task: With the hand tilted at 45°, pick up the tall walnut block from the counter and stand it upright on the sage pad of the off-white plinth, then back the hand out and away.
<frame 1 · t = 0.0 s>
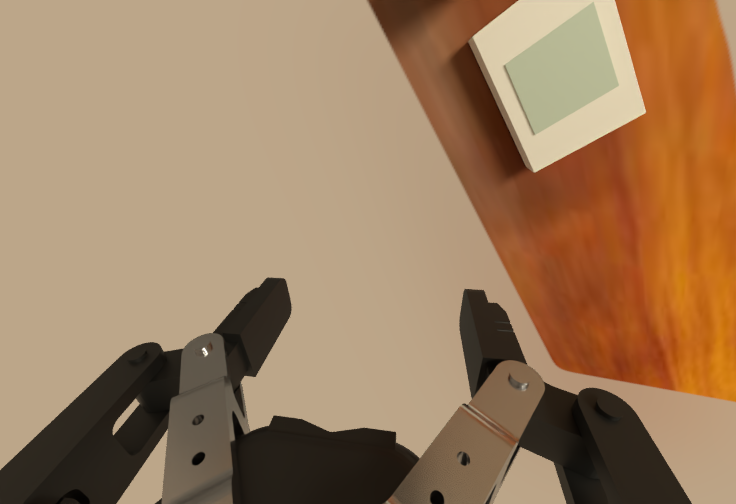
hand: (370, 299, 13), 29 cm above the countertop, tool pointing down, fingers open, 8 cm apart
plinth: (548, 76, 31), on the countertop
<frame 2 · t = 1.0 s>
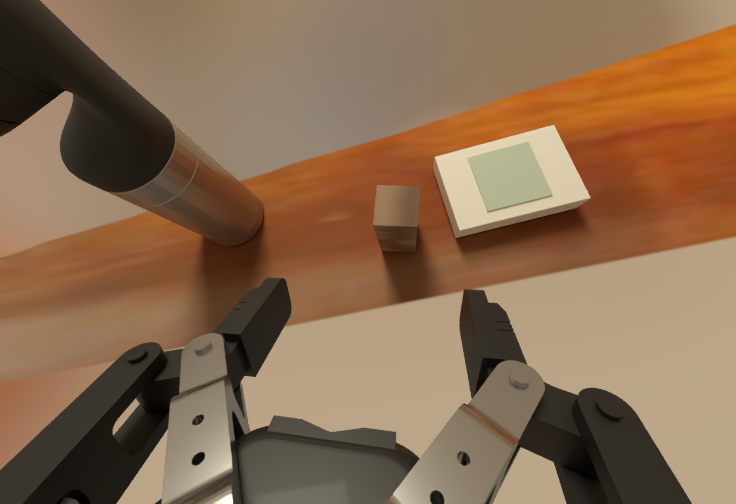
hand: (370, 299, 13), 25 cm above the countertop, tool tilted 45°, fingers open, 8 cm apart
plinth: (500, 187, 39), on the countertop
walnut block: (399, 235, 39), on the countertop
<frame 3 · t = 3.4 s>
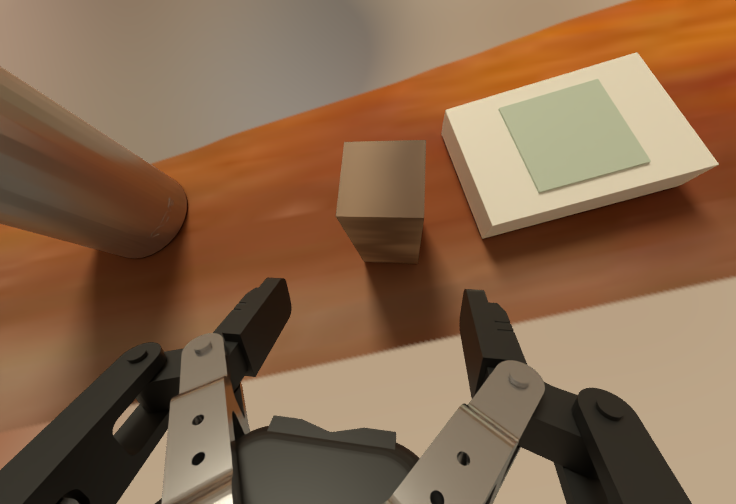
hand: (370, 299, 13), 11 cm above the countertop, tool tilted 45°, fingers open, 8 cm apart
plinth: (550, 157, 25), on the countertop
walnut block: (391, 237, 25), on the countertop
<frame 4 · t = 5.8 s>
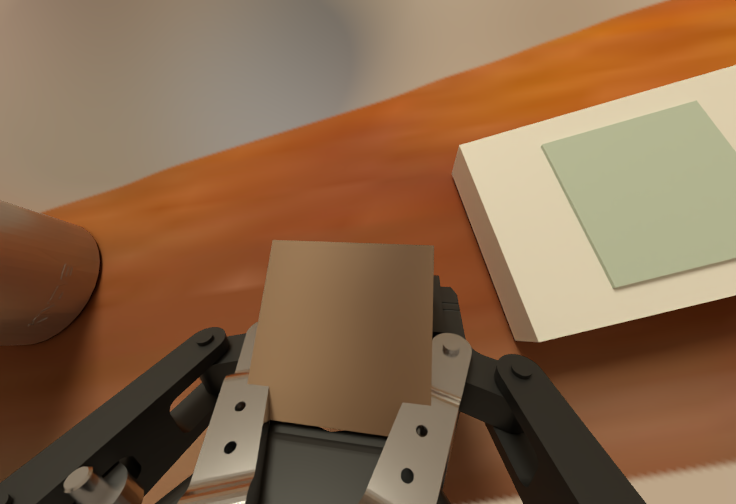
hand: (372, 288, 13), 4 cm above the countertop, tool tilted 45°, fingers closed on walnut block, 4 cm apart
plinth: (613, 213, 17), on the countertop
walnut block: (379, 330, 17), on the countertop, touching gripper
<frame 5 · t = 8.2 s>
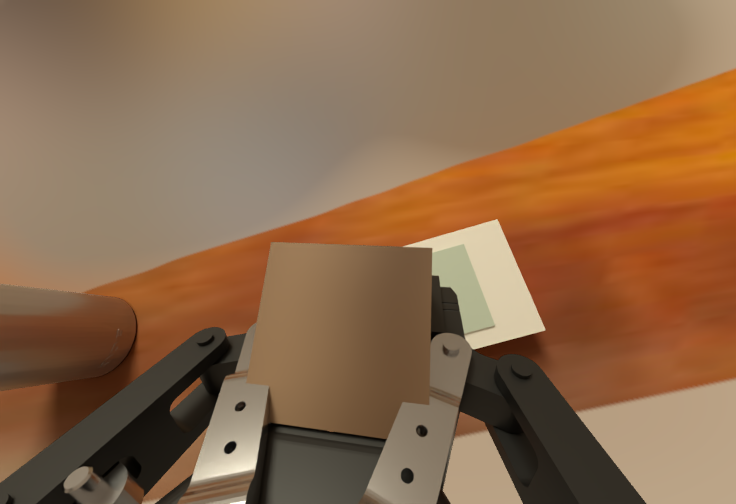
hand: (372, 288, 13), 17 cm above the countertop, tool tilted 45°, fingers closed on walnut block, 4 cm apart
plinth: (434, 298, 30), on the countertop
walnut block: (378, 331, 17), point 13 cm above the countertop, touching gripper
when the fingers open (9 cm above the countertop, at t = 10.6 s): walnut block drops 1 cm, resting on plinth.
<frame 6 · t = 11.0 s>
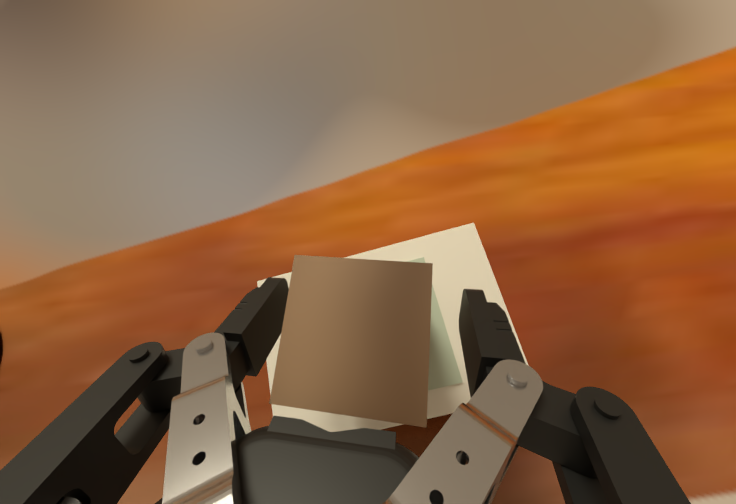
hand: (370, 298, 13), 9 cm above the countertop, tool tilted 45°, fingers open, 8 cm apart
plinth: (385, 331, 21), on the countertop
walnut block: (382, 332, 18), point 3 cm above the countertop, touching plinth
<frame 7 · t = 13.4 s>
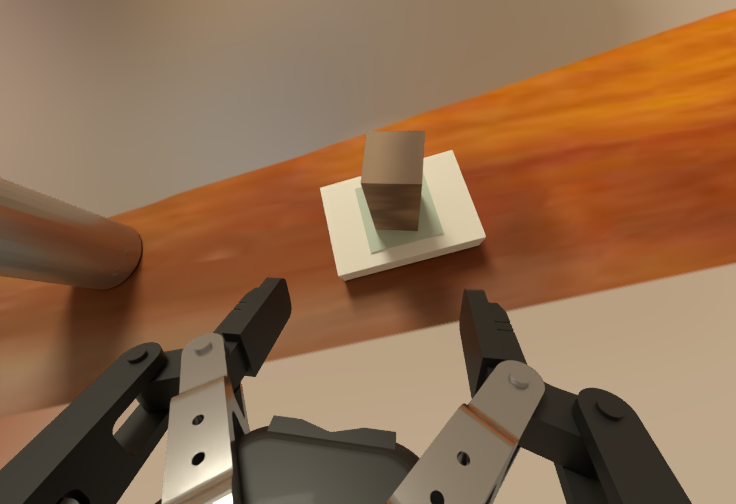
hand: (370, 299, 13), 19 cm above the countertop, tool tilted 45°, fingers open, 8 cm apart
plinth: (398, 220, 34), on the countertop
walnut block: (397, 210, 31), point 3 cm above the countertop, touching plinth
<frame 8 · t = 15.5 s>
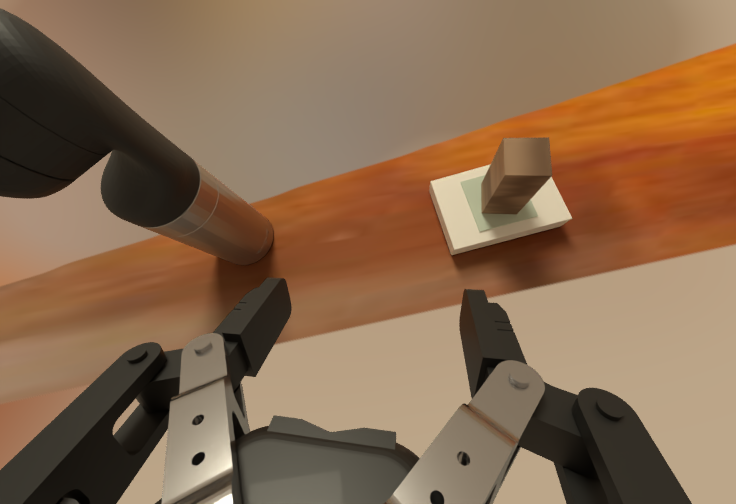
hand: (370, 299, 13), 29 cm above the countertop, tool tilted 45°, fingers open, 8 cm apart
plinth: (491, 207, 43), on the countertop
walnut block: (498, 198, 39), point 3 cm above the countertop, touching plinth
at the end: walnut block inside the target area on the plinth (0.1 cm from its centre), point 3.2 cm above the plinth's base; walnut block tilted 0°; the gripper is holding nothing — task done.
